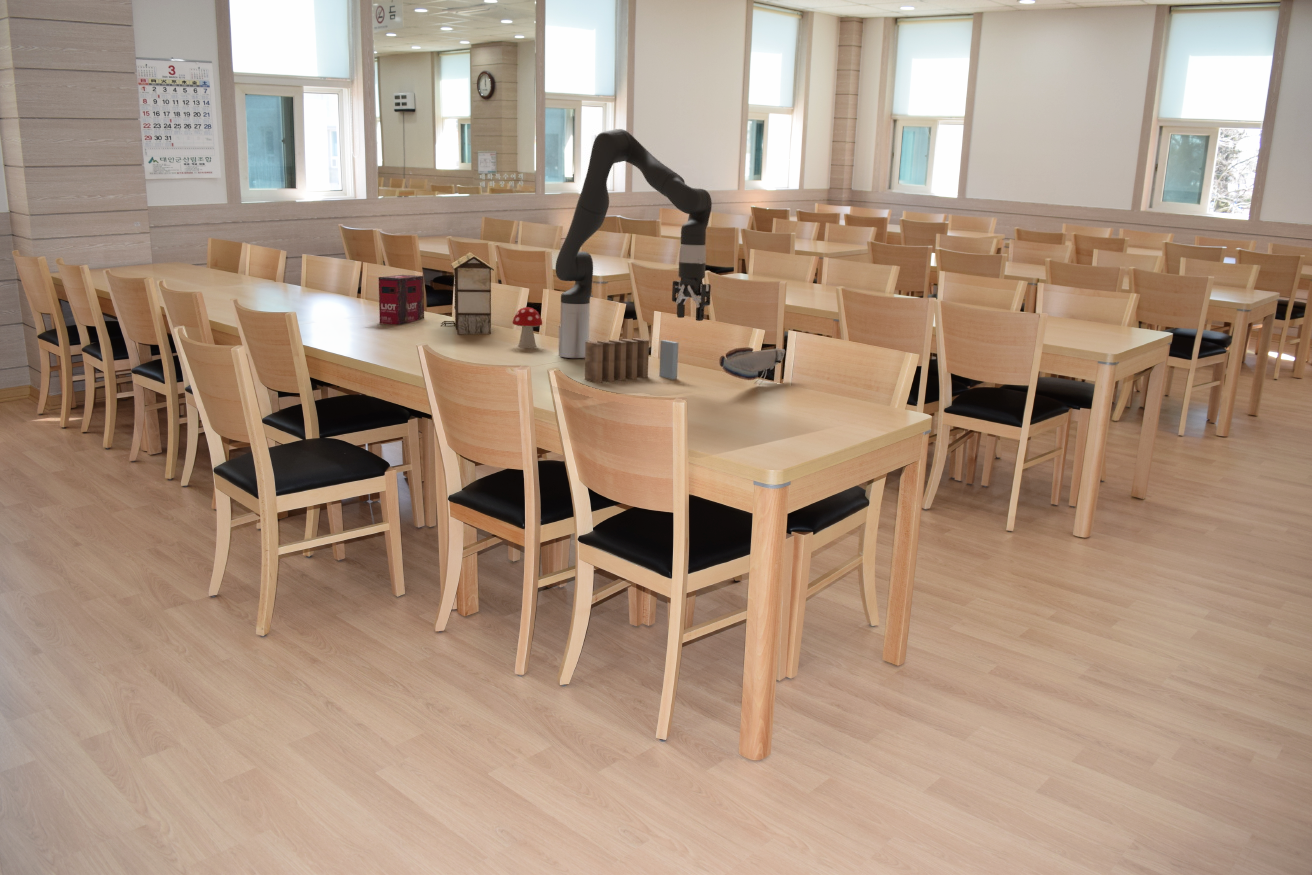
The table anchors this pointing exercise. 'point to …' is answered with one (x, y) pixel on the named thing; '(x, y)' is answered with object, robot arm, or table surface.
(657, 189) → the robot arm
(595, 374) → the tile
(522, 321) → the decorative mushroom
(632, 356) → the tile
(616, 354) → the tile
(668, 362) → the slate tile
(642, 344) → the tile
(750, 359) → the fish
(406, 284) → the box
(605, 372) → the tile
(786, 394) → the table surface
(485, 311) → the miniature building
